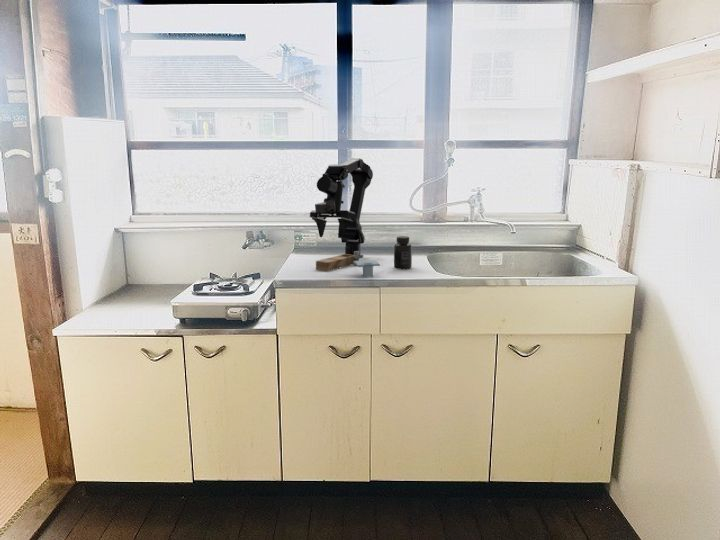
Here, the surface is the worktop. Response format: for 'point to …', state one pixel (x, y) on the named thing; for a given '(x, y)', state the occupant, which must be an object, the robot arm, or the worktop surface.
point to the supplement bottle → (402, 253)
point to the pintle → (356, 256)
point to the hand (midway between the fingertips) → (330, 237)
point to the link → (335, 262)
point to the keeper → (367, 266)
